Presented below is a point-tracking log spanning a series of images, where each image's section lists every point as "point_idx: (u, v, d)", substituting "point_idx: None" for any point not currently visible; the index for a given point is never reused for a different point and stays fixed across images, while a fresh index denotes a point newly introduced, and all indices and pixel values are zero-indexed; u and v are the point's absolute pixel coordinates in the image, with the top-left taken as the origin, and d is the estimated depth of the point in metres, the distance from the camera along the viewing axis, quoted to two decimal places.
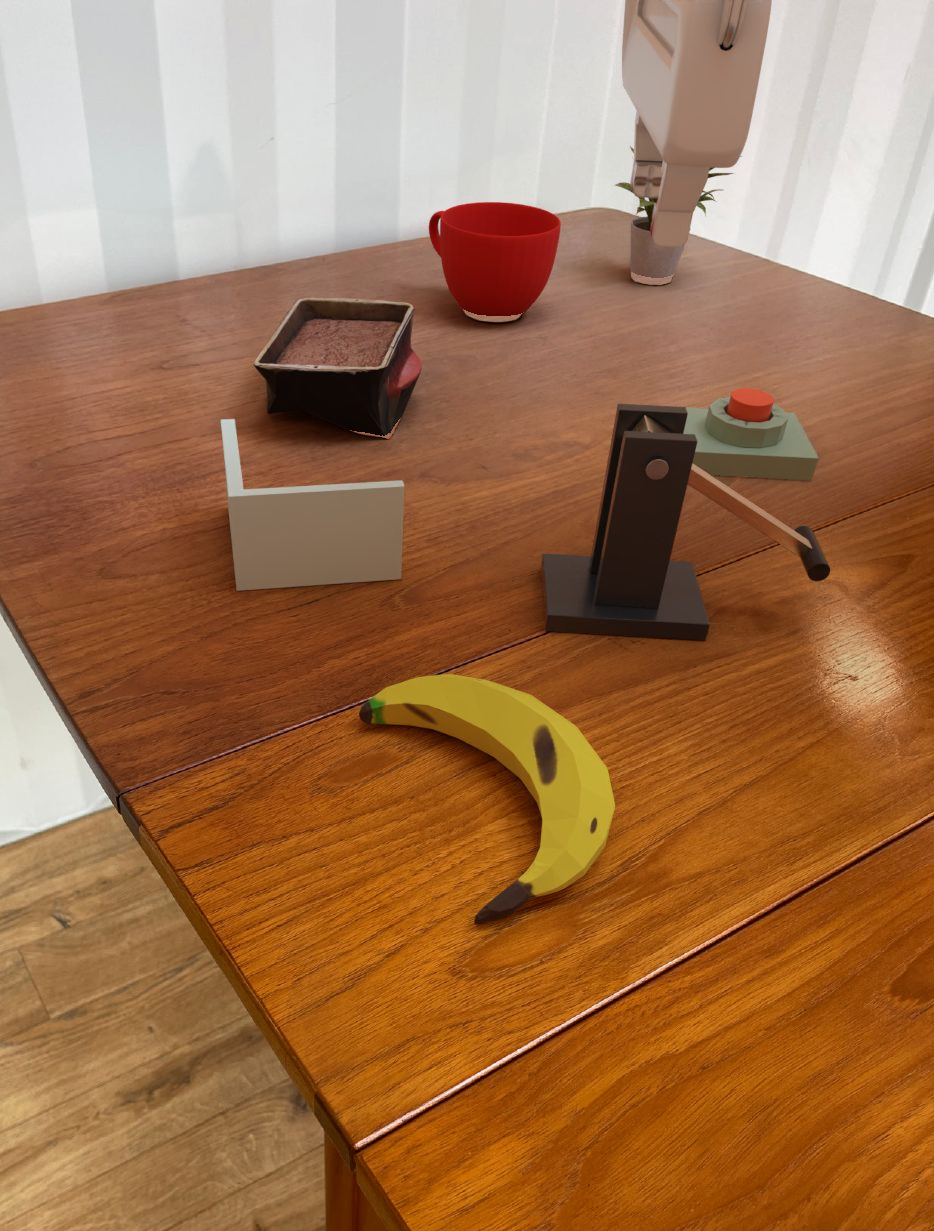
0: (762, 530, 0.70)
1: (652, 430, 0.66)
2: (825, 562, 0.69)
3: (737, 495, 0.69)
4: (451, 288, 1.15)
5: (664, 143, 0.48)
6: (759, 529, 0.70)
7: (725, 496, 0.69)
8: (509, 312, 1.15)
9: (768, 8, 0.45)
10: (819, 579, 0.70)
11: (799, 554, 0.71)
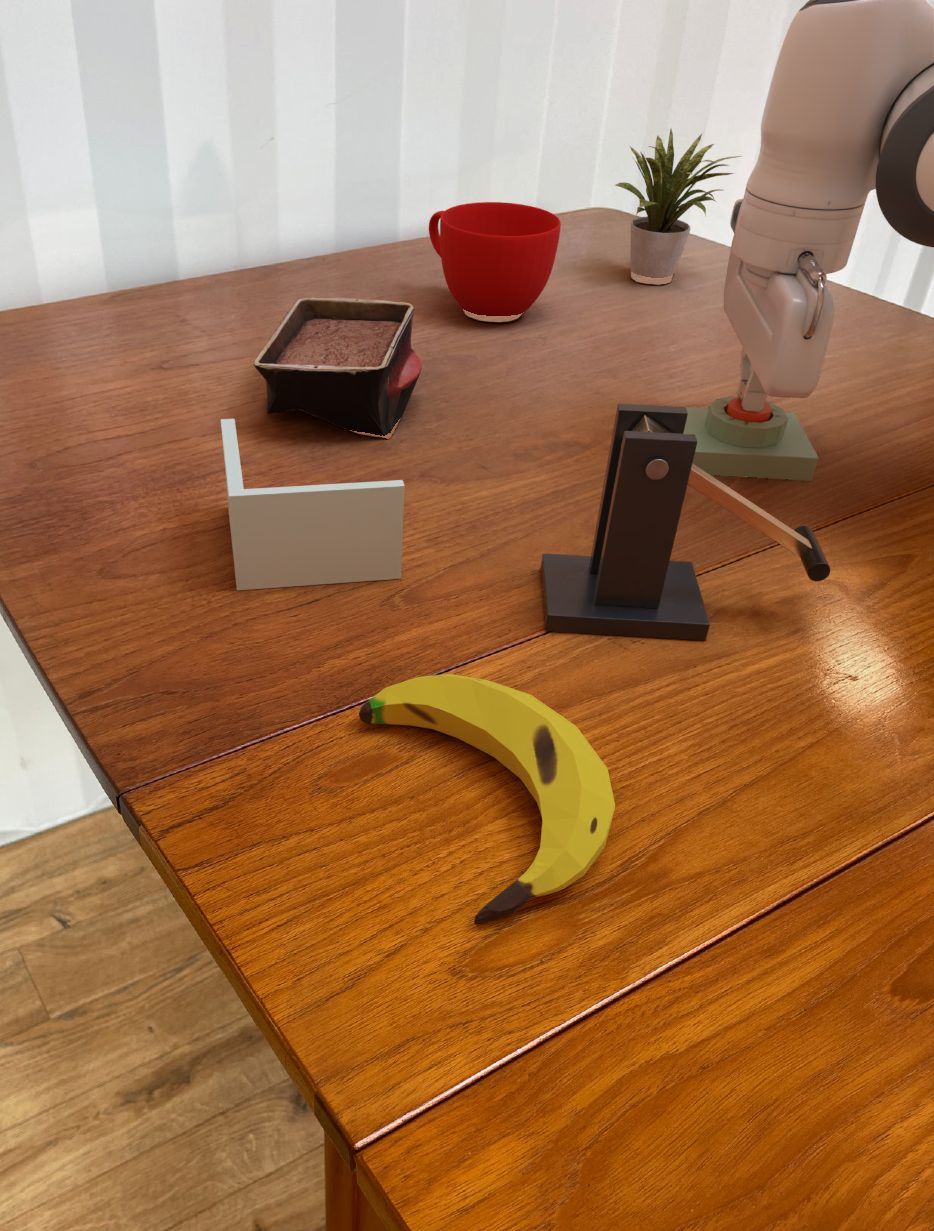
0: (762, 530, 0.70)
1: (652, 430, 0.66)
2: (825, 562, 0.69)
3: (737, 495, 0.69)
4: (451, 288, 1.15)
5: (766, 384, 0.80)
6: (759, 529, 0.70)
7: (725, 496, 0.69)
8: (509, 312, 1.15)
9: (832, 317, 0.76)
10: (819, 579, 0.70)
11: (799, 554, 0.71)
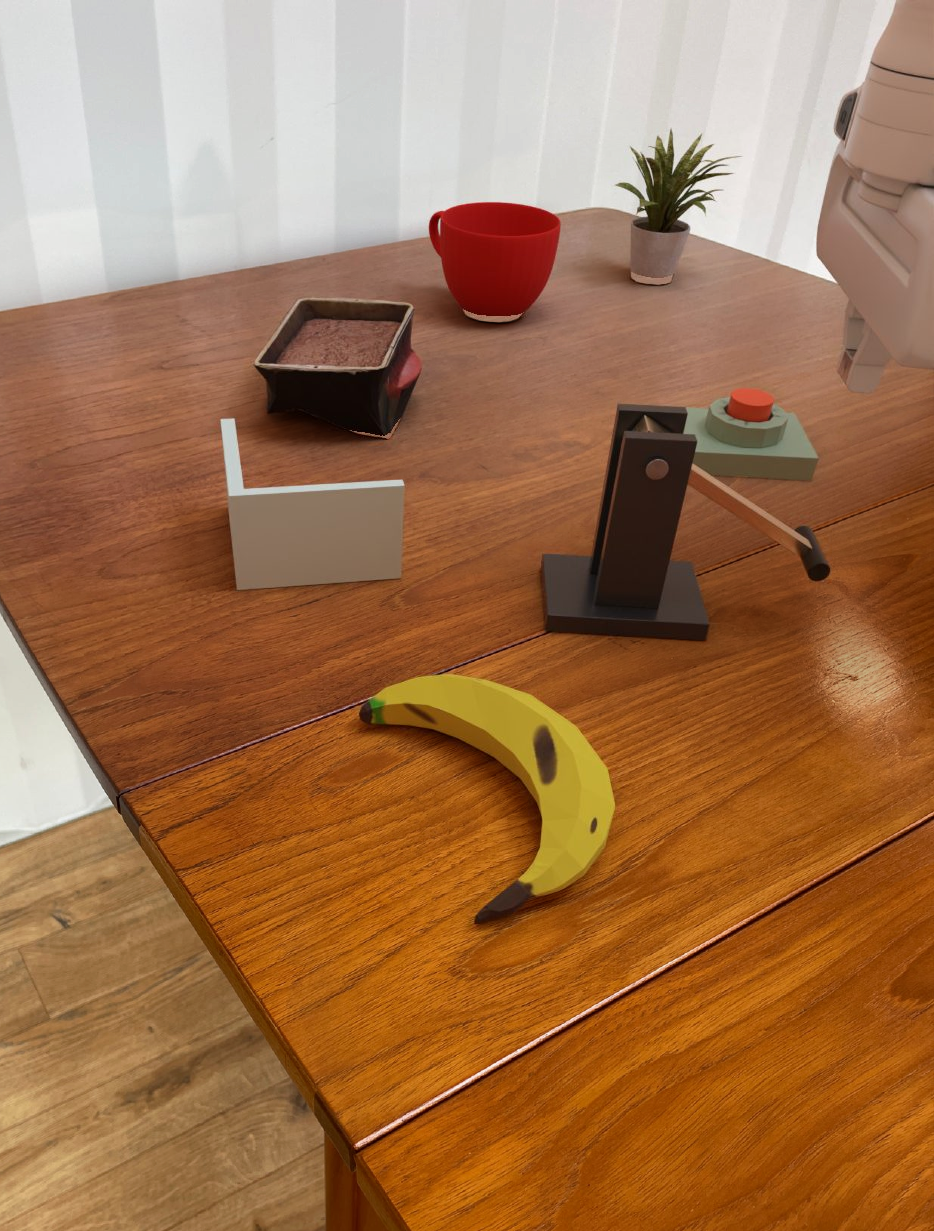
0: (762, 530, 0.70)
1: (652, 430, 0.66)
2: (825, 562, 0.69)
3: (737, 495, 0.69)
4: (451, 288, 1.15)
5: (899, 349, 0.55)
6: (759, 529, 0.70)
7: (725, 496, 0.69)
8: (509, 312, 1.15)
9: None
10: (819, 579, 0.70)
11: (799, 554, 0.71)
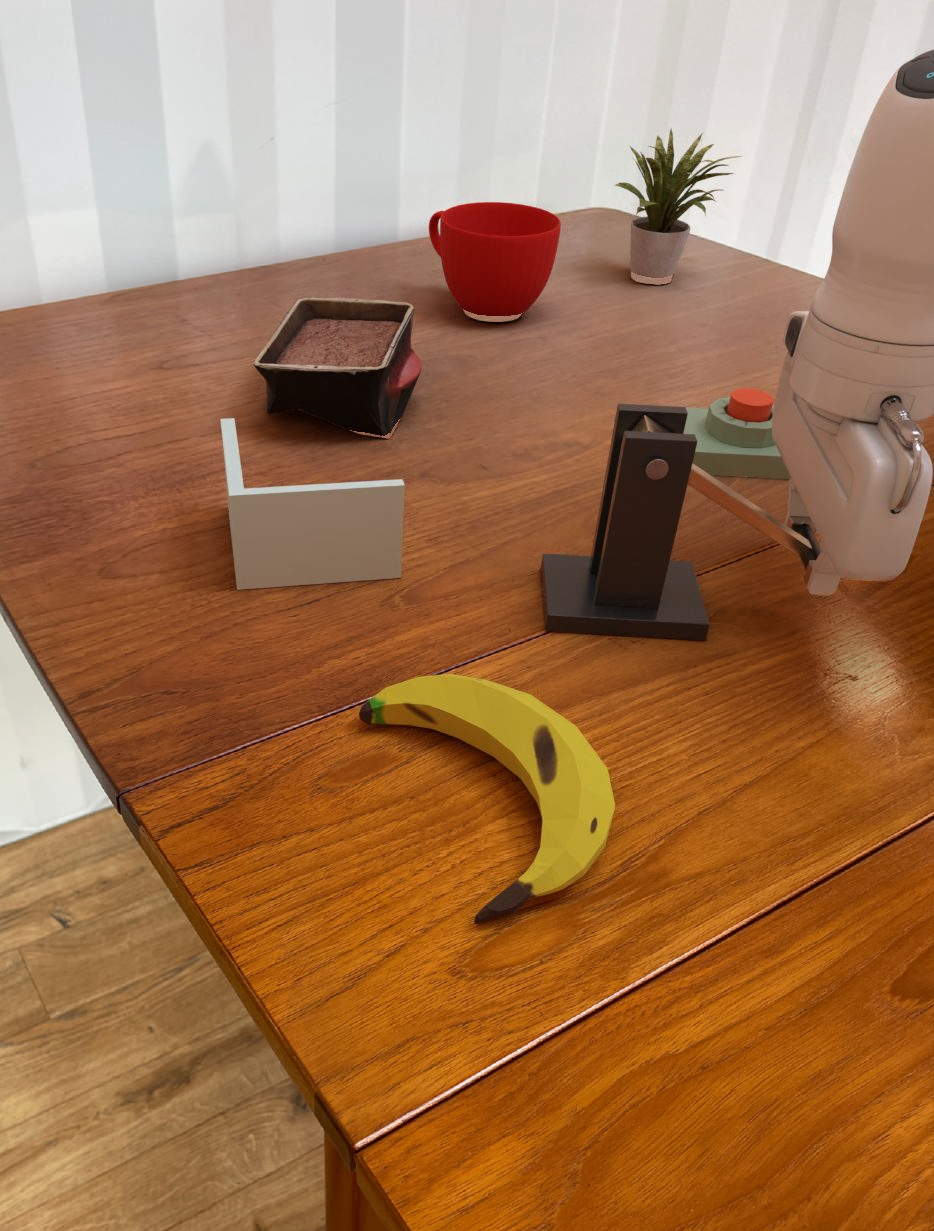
0: (762, 530, 0.70)
1: (652, 430, 0.66)
2: None
3: (737, 495, 0.69)
4: (451, 288, 1.15)
5: (839, 564, 0.62)
6: (759, 529, 0.70)
7: (725, 496, 0.69)
8: (509, 312, 1.15)
9: (929, 487, 0.58)
10: None
11: (799, 554, 0.71)
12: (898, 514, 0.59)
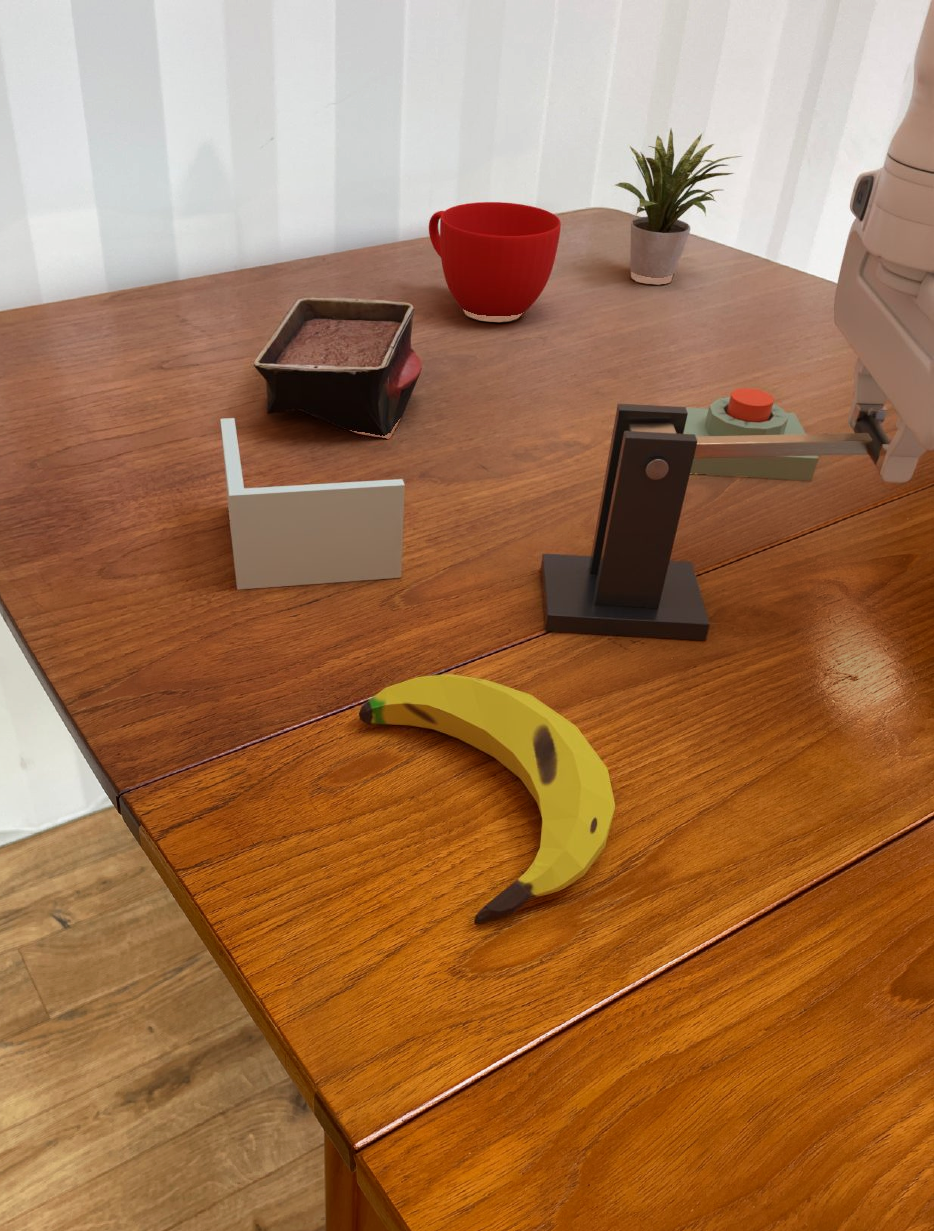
0: (809, 453, 0.66)
1: None
2: None
3: (762, 438, 0.66)
4: (451, 288, 1.15)
5: (923, 434, 0.56)
6: (805, 454, 0.66)
7: (749, 447, 0.66)
8: (509, 312, 1.15)
9: None
10: None
11: (864, 452, 0.66)
12: None
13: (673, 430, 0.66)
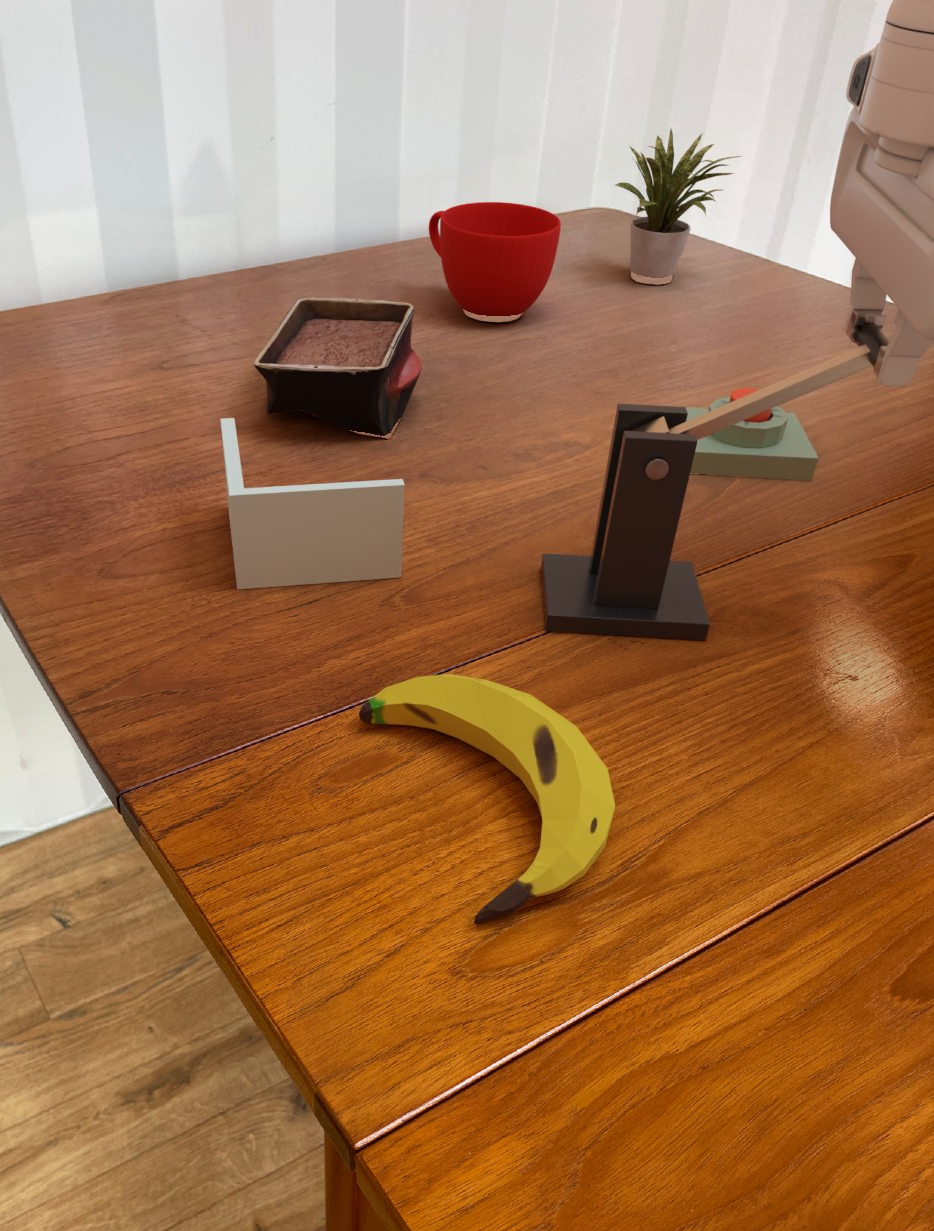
0: (810, 389, 0.64)
1: None
2: None
3: (756, 394, 0.65)
4: (451, 288, 1.15)
5: (924, 321, 0.52)
6: (806, 392, 0.64)
7: (745, 409, 0.65)
8: (509, 312, 1.15)
9: None
10: None
11: (867, 365, 0.62)
12: None
13: (664, 424, 0.66)
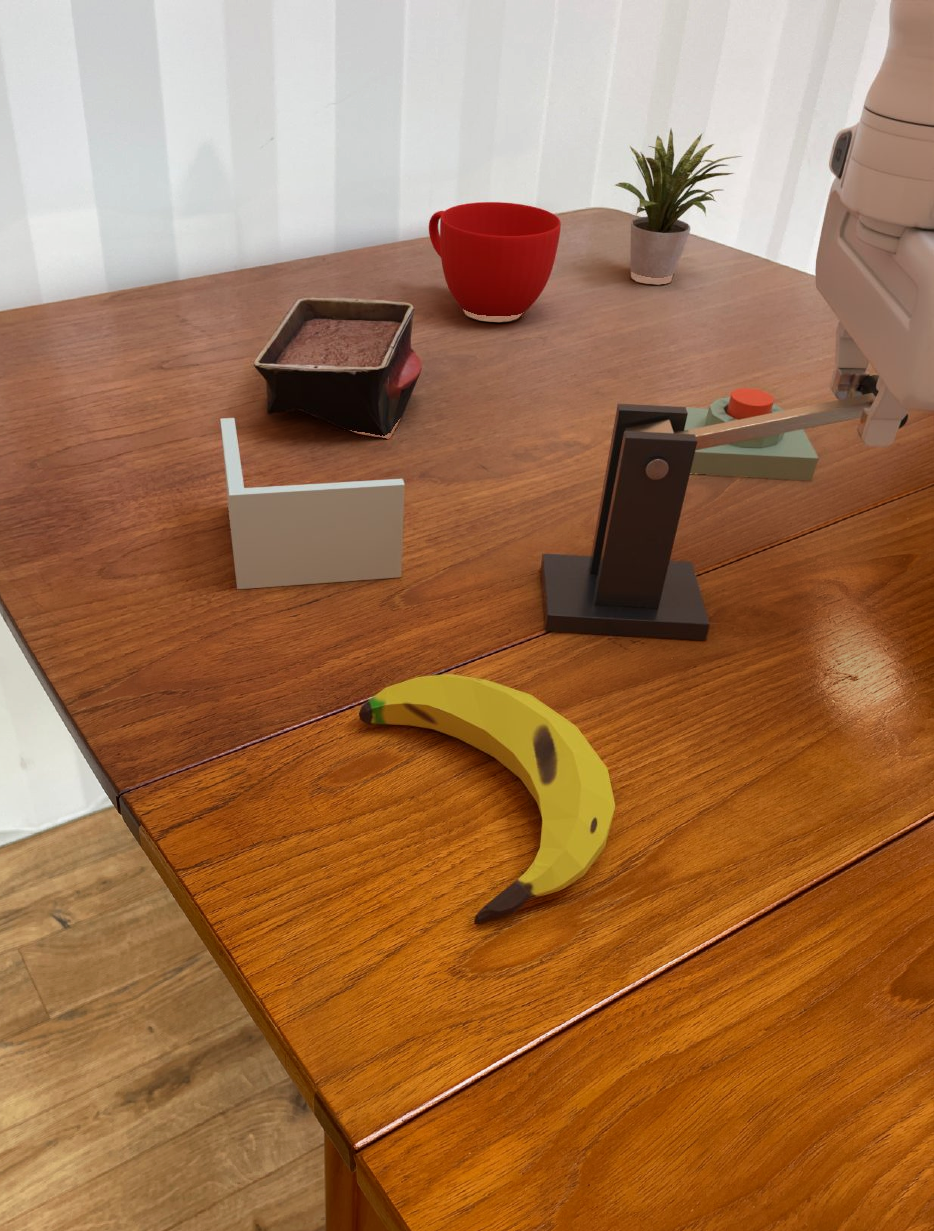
0: (813, 425, 0.65)
1: None
2: None
3: (762, 418, 0.66)
4: (451, 288, 1.15)
5: (902, 393, 0.55)
6: (809, 426, 0.65)
7: (749, 429, 0.65)
8: (509, 312, 1.15)
9: None
10: (902, 424, 0.63)
11: None
12: None
13: (669, 427, 0.66)
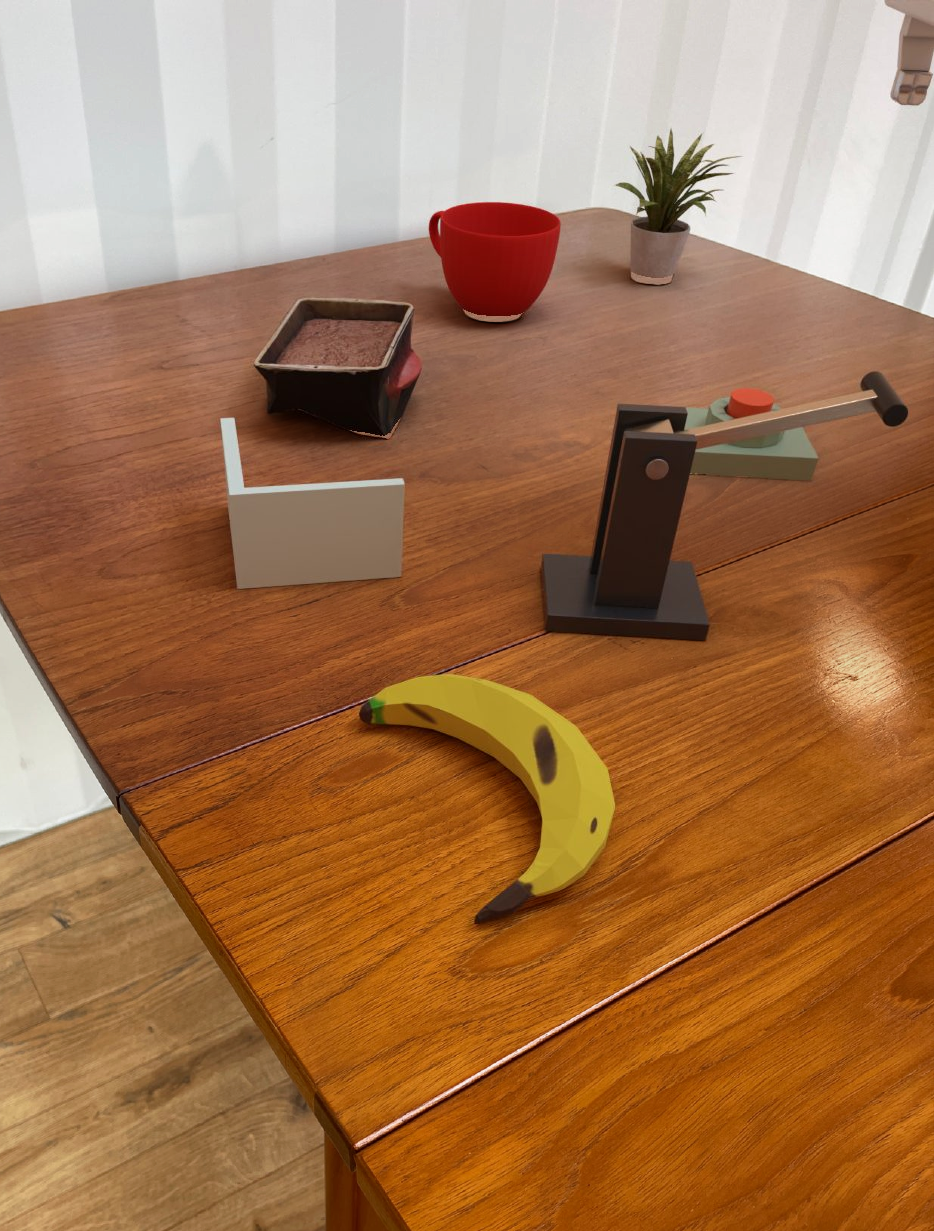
0: (813, 422, 0.65)
1: None
2: (893, 403, 0.62)
3: (762, 416, 0.65)
4: (451, 288, 1.15)
5: None
6: (809, 424, 0.65)
7: (749, 428, 0.65)
8: (509, 312, 1.15)
9: None
10: (902, 420, 0.62)
11: (871, 410, 0.64)
12: None
13: (669, 427, 0.66)
